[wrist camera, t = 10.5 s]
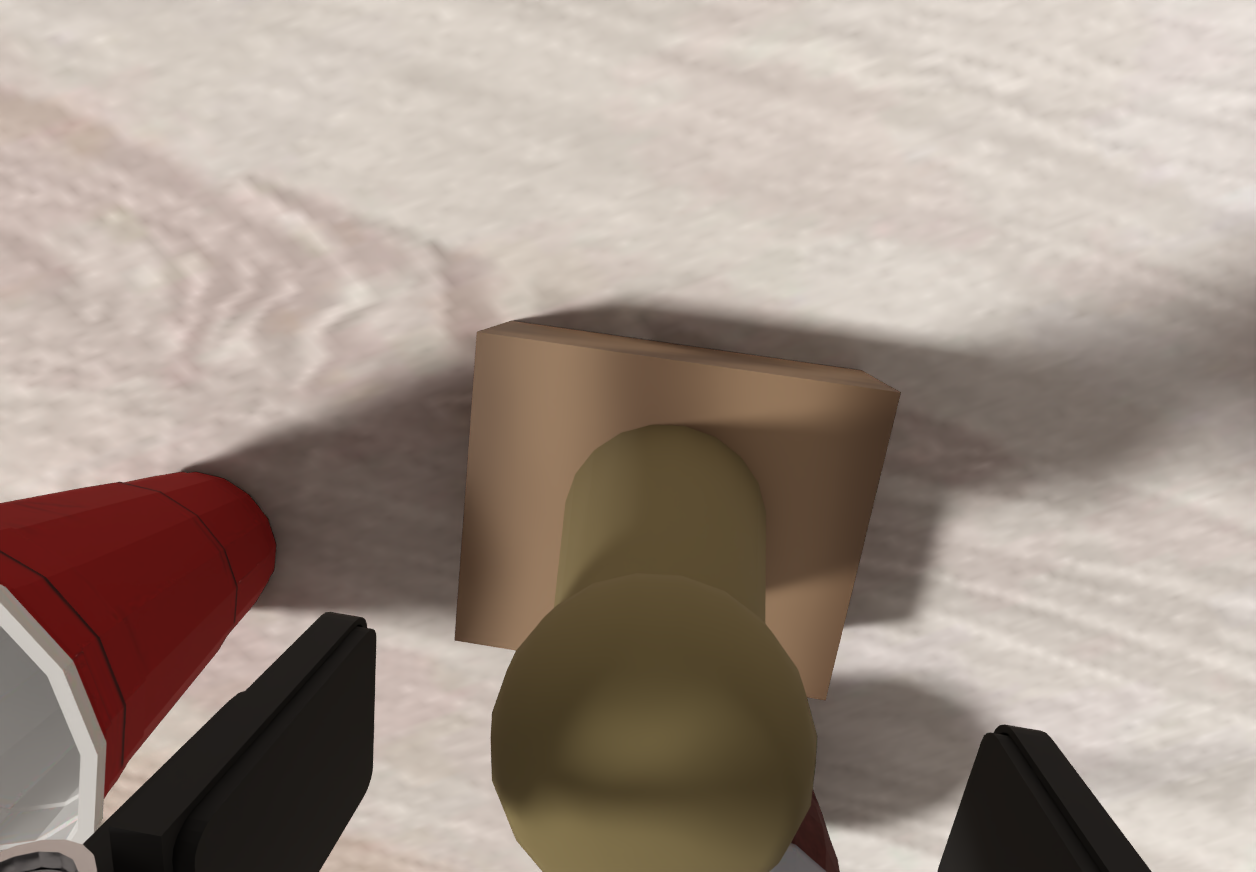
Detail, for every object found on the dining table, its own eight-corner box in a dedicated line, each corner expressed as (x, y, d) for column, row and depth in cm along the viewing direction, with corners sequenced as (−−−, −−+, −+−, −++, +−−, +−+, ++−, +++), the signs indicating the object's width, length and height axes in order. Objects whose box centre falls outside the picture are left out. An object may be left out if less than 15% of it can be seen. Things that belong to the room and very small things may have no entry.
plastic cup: (394, 617, 26) (162, 902, 14) (168, 692, 27) (-203, 1001, 16) (262, 359, 24) (-142, 449, 12) (26, 458, 25) (-527, 621, 14)
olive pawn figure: (716, 390, 19) (767, 555, 8) (797, 569, 20) (935, 925, 9) (529, 473, 20) (352, 719, 9) (617, 639, 21) (552, 1030, 10)
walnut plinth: (861, 370, 22) (901, 392, 18) (802, 632, 25) (825, 700, 21) (511, 320, 22) (476, 331, 19) (488, 582, 25) (454, 640, 21)
